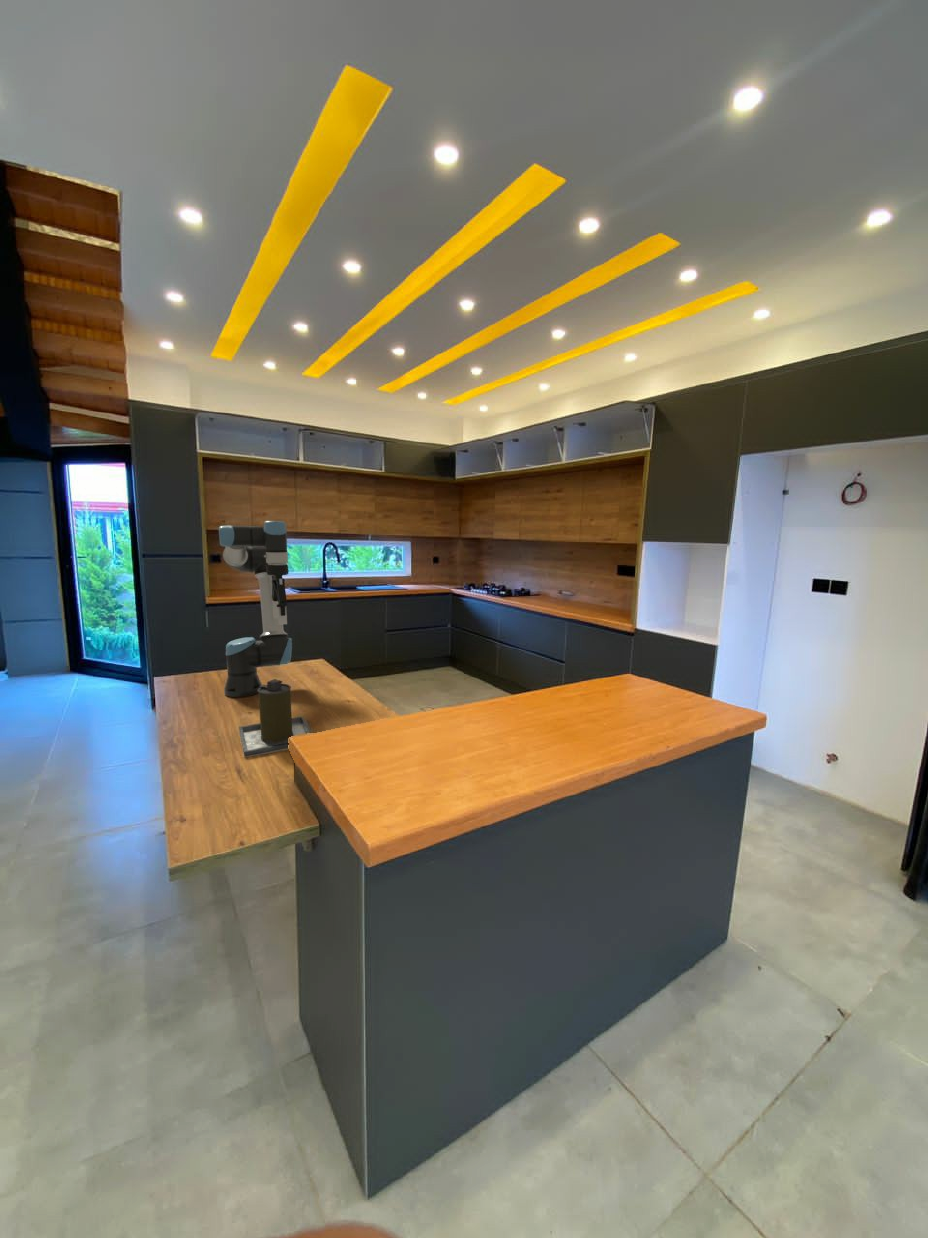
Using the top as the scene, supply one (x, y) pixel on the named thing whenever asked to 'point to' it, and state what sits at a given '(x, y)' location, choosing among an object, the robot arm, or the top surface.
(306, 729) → the shallow grey tray
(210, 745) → the top surface
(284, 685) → the canister
